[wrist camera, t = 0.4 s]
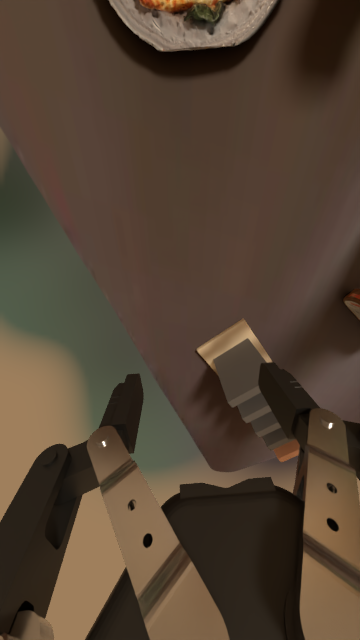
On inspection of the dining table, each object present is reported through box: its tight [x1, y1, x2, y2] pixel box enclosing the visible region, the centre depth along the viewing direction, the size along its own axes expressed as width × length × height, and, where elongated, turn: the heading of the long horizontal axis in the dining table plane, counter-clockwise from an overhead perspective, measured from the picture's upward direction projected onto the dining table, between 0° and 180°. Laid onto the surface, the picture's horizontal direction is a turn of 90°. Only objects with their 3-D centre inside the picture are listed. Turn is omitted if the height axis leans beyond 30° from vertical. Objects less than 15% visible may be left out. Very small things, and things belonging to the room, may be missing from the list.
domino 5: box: [274, 439, 300, 462], centre depth 42 cm, size 2×9×12 cm, turn 127°
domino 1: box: [213, 338, 267, 408], centre depth 36 cm, size 2×9×12 cm, turn 127°
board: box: [197, 319, 272, 375], centre depth 45 cm, size 30×12×1 cm, turn 37°
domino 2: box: [237, 393, 272, 423], centre depth 37 cm, size 2×9×12 cm, turn 127°
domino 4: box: [263, 428, 295, 450], centre depth 41 cm, size 2×9×12 cm, turn 127°
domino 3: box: [251, 411, 281, 438], centre depth 39 cm, size 2×9×12 cm, turn 127°
